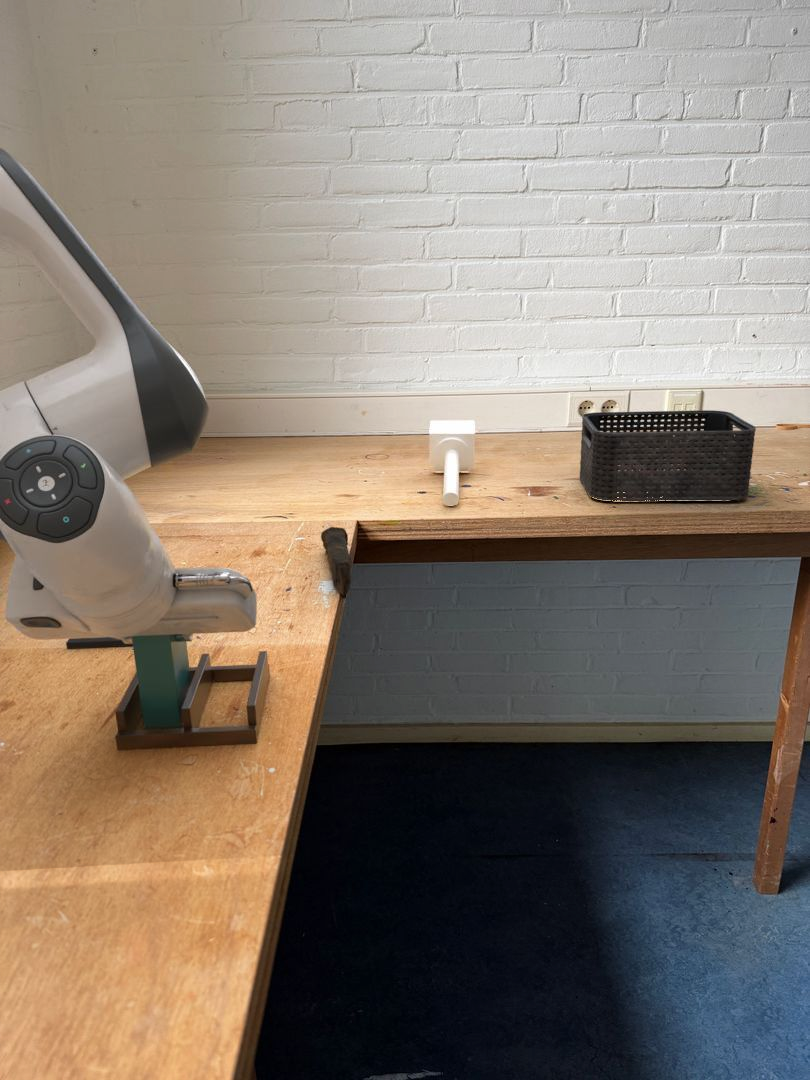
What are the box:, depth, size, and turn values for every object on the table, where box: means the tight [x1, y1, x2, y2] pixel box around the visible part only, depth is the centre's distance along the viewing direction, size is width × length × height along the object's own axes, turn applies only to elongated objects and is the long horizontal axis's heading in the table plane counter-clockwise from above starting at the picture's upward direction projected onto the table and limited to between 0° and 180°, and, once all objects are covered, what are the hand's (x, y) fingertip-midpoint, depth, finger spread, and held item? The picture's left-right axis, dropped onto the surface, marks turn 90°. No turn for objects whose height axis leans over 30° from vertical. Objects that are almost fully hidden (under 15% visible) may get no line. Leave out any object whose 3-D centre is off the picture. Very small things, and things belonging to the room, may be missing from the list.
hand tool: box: [320, 526, 352, 596], centre depth 114 cm, size 19×4×5 cm, turn 6°
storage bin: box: [579, 409, 757, 501], centre depth 150 cm, size 29×19×13 cm
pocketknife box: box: [132, 635, 191, 729], centre depth 78 cm, size 4×6×11 cm, turn 4°
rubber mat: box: [65, 637, 133, 650], centre depth 99 cm, size 12×12×1 cm
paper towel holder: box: [428, 420, 476, 506], centre depth 157 cm, size 9×9×32 cm
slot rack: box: [114, 650, 271, 751], centre depth 79 cm, size 13×13×4 cm
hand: (159, 635), depth 77 cm, fingers closed on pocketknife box, 3 cm apart
